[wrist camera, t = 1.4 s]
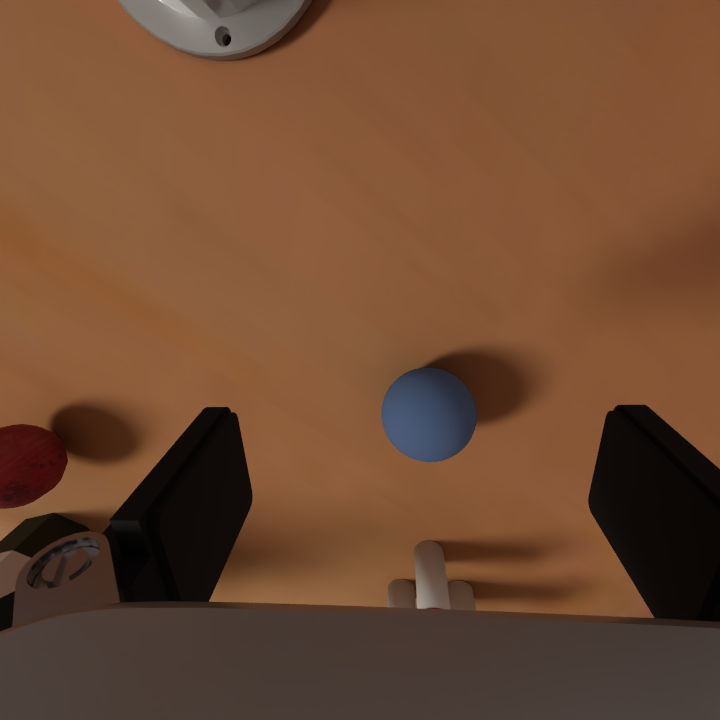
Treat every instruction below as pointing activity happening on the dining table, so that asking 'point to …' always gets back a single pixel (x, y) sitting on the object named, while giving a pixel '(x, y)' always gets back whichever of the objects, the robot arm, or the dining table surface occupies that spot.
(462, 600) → the pin
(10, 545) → the wine bottle
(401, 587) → the pin
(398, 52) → the dining table surface
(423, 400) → the ball
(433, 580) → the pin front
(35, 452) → the onion
